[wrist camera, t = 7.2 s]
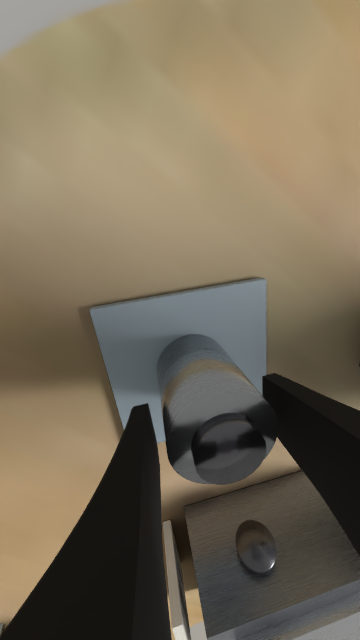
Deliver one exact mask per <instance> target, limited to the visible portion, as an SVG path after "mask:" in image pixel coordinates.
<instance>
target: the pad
mask: <svg viewBox="0 0 360 640" xmlns="http://www.w3.org/2000/svg"><path fill="white" fill-rule="evenodd" d="M89 311H90V314H91V318H92V321H93V325H94V328H95V332H96V335H97V338H98V342H99V345H100V349H101V352H102V356H103V359H104V363H105V366H106V370H107V373H108V377H109V380H110V383H111V387H112V390H113V394H114V397H115V401H116V404H117V408H118V411H119V415H120V418H121V422H122V425H123V428H124V429H125V427H126V424H127V421H128V419H129V416H130V412H131V409H132V408H133V407H134V406H137V405H142V404H146V403H148V405H149V409H150V413H151V418H152V422H153V426H154V431H155V435H156V440H157V443H160V442H164V441H166V440H165V432H164V424H163V417H162V409H161V401H160V394H159V386H158V379H157V363H158V359H159V357H160V355H161V353H162V351H163V350H164V349H165V348H166V347H167V346H168V345H169V344H170V343H171V342H172V341H174V340H176V339H177V338H180V337H182V336H185V335H190V334H201V335H205V336H208V337H211V338H213V339H214V340H216V341H217V342H218V343H219V344H220V345H221V347H222V348H223V349H224V350H225V351H226V353H227V354H228V355H229V356H230V357H231V359H232V360H233V361H234V362H235V363H236V365H237V366H238V367H239V368H240V369H241V371H242V372H243V373H244V374H245V376H246V377H247V378H248V379H249V380H250V382H251V383H252V384H253V385H254V386H255V388H256V389H257V390H258V391H259V392H260V394H261V395H262V376H265V375H266V279H264V278H255V279H249V280H244V281H238V282H232V283H226V284H221V285H215V286H209V287H203V288H198V289H192V290H186V291H180V292H175V293H169V294H163V295H157V296H152V297H146V298H140V299H134V300H129V301H123V302H117V303H111V304H106V305H100V306H94V307H91V309H90V310H89Z"/></svg>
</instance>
